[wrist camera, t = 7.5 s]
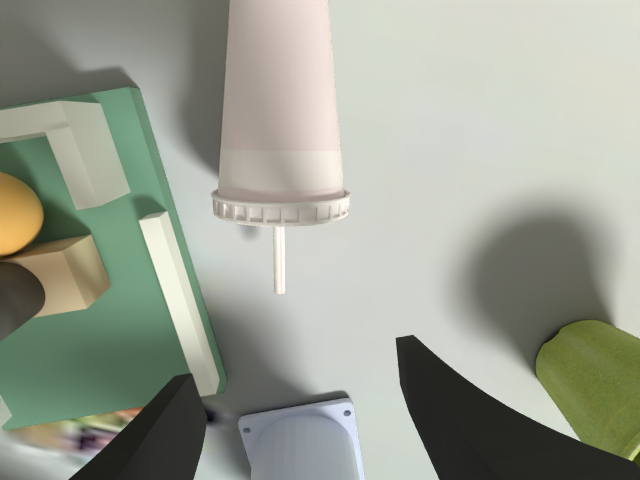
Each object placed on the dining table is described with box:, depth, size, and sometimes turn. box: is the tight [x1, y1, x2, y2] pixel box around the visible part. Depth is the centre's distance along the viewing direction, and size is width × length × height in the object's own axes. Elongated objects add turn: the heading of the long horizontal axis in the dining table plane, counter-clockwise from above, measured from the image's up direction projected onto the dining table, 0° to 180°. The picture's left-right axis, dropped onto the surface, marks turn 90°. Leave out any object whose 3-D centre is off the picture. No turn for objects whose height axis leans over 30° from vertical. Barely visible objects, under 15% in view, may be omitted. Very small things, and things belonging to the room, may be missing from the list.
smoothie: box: [211, 0, 351, 294], centre depth 16 cm, size 6×6×14 cm
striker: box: [0, 234, 111, 342], centre depth 16 cm, size 3×6×6 cm, turn 99°
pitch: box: [0, 87, 227, 430], centre depth 18 cm, size 18×14×4 cm
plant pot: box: [536, 320, 640, 467], centre depth 21 cm, size 9×9×9 cm
